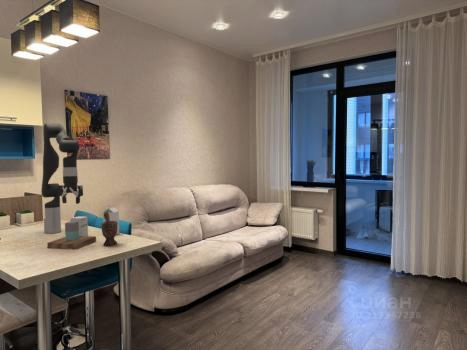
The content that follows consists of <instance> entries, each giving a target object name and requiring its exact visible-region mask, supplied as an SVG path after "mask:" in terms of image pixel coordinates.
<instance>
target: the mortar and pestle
mask: <svg viewBox="0 0 467 350" xmlns="http://www.w3.org/2000/svg"><path fill="white" fill-rule="evenodd" d="M104 212H105V211H104ZM104 218H105V220H106V222H104V221H103V222H101V224H100V226H101V232H102V233H101V234H102V236H103V237H104V238H105V241H104V242H103V245H102V246H106V247H113V246H117V245H118V241H117V240H116V239H115V237H116V236H117V235H118V234H117V228H118V227H117V221H110V217H109V213H108V212H105V213H104ZM116 234H117V235H116Z"/></svg>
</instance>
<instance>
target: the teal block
mask: <svg viewBox="0 0 467 350" xmlns="http://www.w3.org/2000/svg"><path fill="white" fill-rule="evenodd" d="M64 232H65V231H64ZM64 235H65V236H64V237H65V238H66V240H68V241H74V240H77V239H79V230H78V231H75V232H65V233H64Z"/></svg>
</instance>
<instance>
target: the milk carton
mask: <svg viewBox="0 0 467 350" xmlns="http://www.w3.org/2000/svg"><path fill="white" fill-rule="evenodd" d="M105 212H108V213H109V217H110V221H117V227H118V228H117V234H116V236H117V235H119V234H120V218H119V217H120V215H119V214H120V211H119V210H118V209H117V208H116V207H115V206H114V204H113V205H109V206H107V207H106V208H105V210H104V211H103V213H102V214H103V215H102V217H103V222H106V220H105V218H104V213H105Z"/></svg>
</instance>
